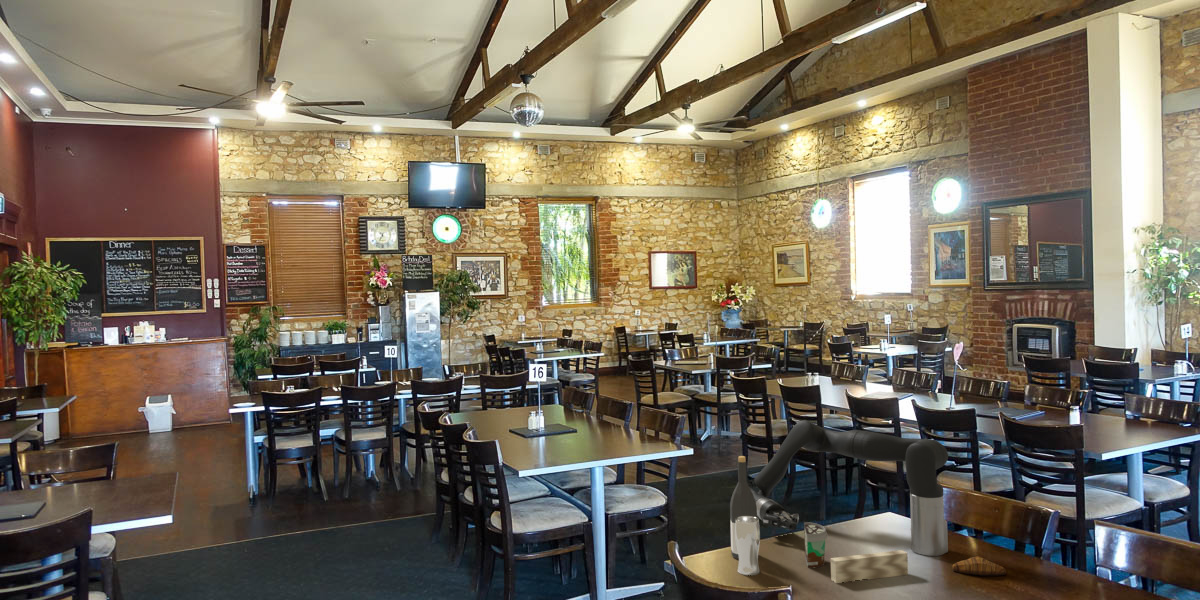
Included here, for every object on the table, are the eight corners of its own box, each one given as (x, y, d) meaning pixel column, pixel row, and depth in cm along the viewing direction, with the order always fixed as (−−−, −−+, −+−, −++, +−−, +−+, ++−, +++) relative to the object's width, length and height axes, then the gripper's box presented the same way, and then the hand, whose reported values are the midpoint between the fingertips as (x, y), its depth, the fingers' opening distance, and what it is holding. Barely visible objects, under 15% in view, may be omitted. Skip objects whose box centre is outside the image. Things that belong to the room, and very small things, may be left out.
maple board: (902, 571, 206) (901, 550, 206) (907, 574, 203) (907, 553, 203) (831, 579, 201) (830, 558, 201) (835, 583, 199) (835, 561, 199)
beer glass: (762, 568, 211) (761, 516, 211) (759, 577, 204) (758, 523, 204) (738, 566, 213) (736, 514, 213) (734, 574, 207) (732, 521, 206)
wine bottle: (728, 559, 219) (725, 458, 219) (734, 550, 227) (731, 453, 226) (755, 561, 216) (752, 460, 216) (760, 552, 223) (757, 454, 223)
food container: (830, 570, 208) (829, 535, 208) (808, 569, 209) (807, 534, 209) (826, 555, 220) (825, 522, 220) (804, 554, 221) (804, 521, 221)
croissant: (954, 577, 202) (954, 558, 202) (949, 568, 208) (949, 550, 208) (1009, 580, 198) (1008, 562, 198) (1002, 571, 205) (1002, 553, 205)
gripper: (750, 502, 244) (773, 517, 227) (787, 498, 247) (812, 513, 230) (751, 524, 244) (774, 541, 227) (787, 521, 247) (813, 537, 230)
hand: (793, 527), depth 228 cm, fingers closed
